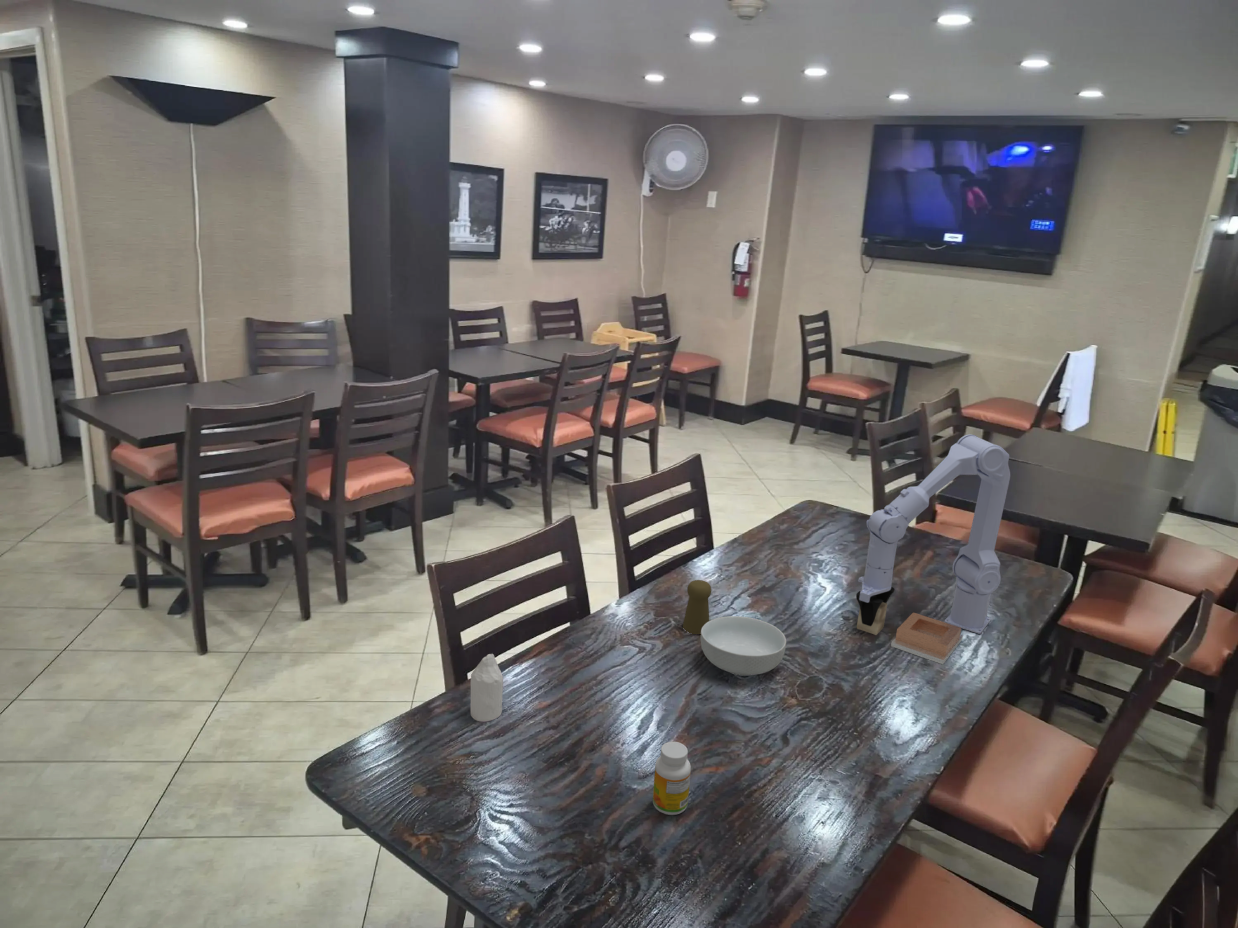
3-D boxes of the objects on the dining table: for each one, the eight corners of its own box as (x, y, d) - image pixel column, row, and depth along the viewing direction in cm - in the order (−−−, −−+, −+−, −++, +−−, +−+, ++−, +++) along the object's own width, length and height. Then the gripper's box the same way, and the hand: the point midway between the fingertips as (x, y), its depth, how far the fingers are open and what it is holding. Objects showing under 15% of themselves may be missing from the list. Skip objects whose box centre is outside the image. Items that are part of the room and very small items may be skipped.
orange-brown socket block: (912, 623, 185) (914, 609, 184) (962, 639, 178) (964, 625, 177) (890, 646, 174) (893, 631, 173) (942, 664, 168) (945, 649, 167)
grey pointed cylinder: (481, 641, 144) (509, 648, 142) (481, 699, 147) (508, 707, 146) (463, 656, 139) (492, 664, 137) (464, 717, 142) (492, 725, 140)
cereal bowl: (791, 657, 167) (795, 626, 165) (770, 697, 153) (774, 664, 151) (713, 637, 174) (716, 607, 172) (686, 673, 160) (689, 641, 157)
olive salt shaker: (708, 636, 174) (712, 590, 171) (680, 632, 175) (684, 586, 172) (711, 623, 180) (715, 578, 177) (684, 620, 181) (687, 575, 178)
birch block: (864, 621, 185) (867, 597, 183) (883, 627, 182) (887, 603, 180) (856, 628, 181) (860, 604, 179) (876, 635, 178) (880, 610, 177)
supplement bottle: (650, 791, 126) (654, 738, 123) (684, 791, 126) (689, 737, 124) (654, 816, 121) (658, 761, 118) (690, 815, 121) (695, 760, 118)
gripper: (874, 549, 185) (866, 603, 189) (849, 569, 174) (841, 625, 178) (905, 558, 181) (896, 613, 185) (881, 578, 170) (872, 636, 174)
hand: (871, 620), depth 181 cm, fingers closed on birch block, 4 cm apart
